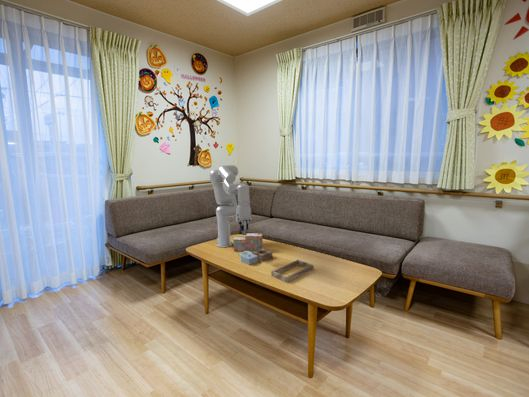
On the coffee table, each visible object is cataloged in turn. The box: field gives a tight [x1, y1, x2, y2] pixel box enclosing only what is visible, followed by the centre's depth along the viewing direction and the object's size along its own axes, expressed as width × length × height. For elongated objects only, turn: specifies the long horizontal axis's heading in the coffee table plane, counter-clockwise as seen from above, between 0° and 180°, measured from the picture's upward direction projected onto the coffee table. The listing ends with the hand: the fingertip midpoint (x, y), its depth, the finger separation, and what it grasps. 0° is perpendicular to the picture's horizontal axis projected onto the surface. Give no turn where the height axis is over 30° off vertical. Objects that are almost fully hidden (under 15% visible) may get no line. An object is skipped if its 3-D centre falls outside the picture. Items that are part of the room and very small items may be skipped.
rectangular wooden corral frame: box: [270, 259, 314, 283], centre depth 170 cm, size 12×25×3 cm, turn 135°
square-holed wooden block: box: [251, 248, 273, 262], centre depth 194 cm, size 10×10×4 cm
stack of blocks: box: [232, 232, 263, 252], centre depth 209 cm, size 21×6×12 cm, turn 86°
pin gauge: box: [241, 220, 248, 236], centre depth 187 cm, size 3×3×10 cm
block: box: [240, 253, 259, 266], centre depth 187 cm, size 8×8×4 cm
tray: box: [237, 251, 253, 258], centre depth 197 cm, size 8×8×2 cm
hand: (244, 229), depth 187 cm, fingers closed on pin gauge, 3 cm apart
